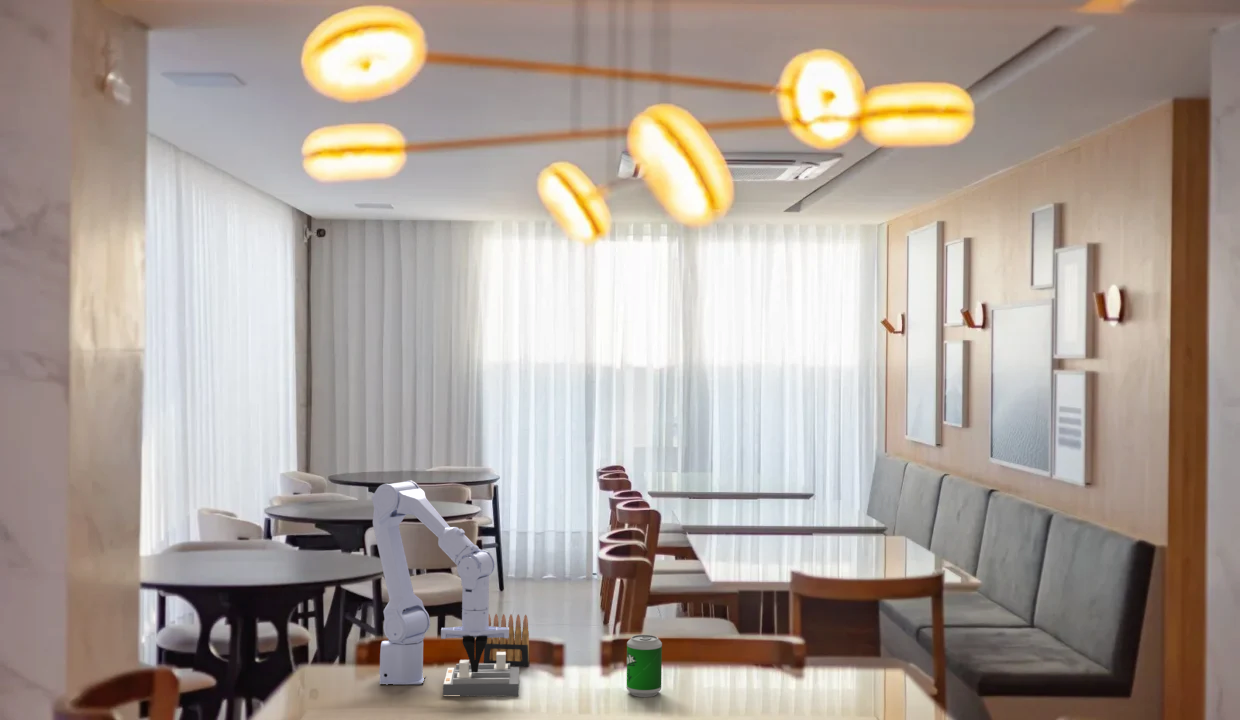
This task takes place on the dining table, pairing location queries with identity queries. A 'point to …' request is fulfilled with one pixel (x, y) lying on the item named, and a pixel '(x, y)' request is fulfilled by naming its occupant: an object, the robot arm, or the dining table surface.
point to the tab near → (464, 669)
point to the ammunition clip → (509, 643)
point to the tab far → (501, 661)
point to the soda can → (644, 665)
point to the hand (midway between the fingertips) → (474, 671)
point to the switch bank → (483, 682)
